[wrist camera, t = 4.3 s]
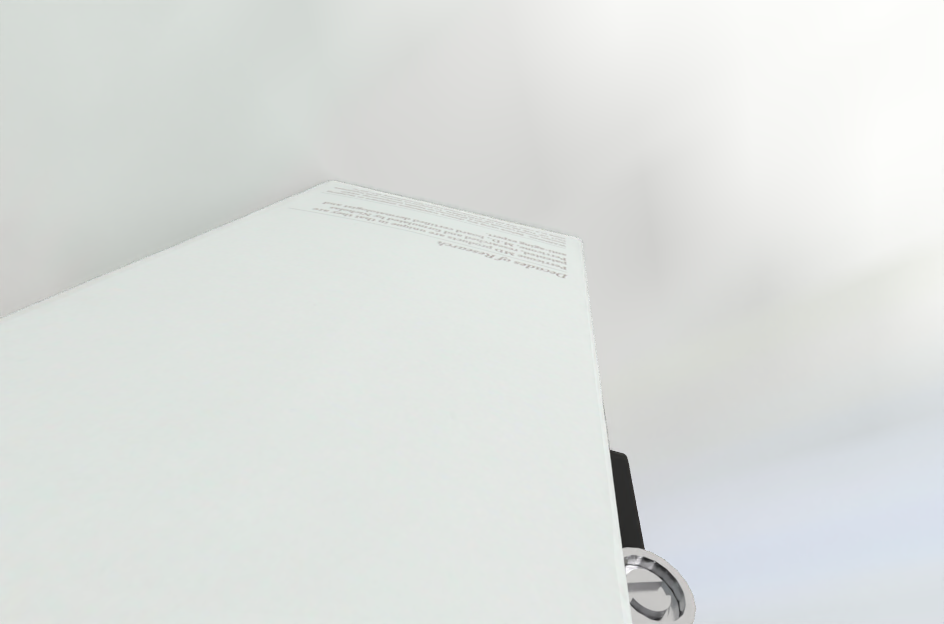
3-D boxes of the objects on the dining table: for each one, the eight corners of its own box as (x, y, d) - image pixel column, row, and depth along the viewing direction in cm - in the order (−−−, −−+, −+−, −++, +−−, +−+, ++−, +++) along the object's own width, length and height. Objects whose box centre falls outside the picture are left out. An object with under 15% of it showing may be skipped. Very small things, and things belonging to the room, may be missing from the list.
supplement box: (326, 171, 14) (-861, 586, 2) (589, 236, 13) (787, 1154, 2) (310, 389, 17) (-213, 1018, 5) (522, 446, 16) (439, 1261, 5)
